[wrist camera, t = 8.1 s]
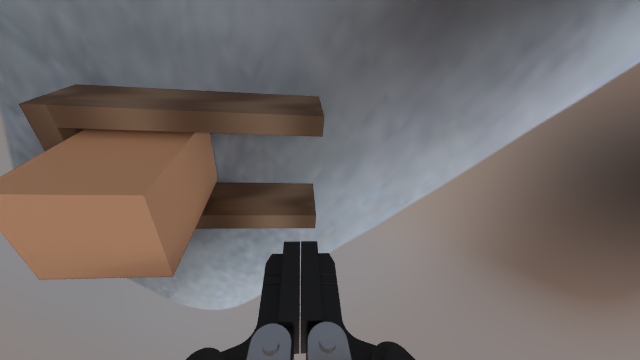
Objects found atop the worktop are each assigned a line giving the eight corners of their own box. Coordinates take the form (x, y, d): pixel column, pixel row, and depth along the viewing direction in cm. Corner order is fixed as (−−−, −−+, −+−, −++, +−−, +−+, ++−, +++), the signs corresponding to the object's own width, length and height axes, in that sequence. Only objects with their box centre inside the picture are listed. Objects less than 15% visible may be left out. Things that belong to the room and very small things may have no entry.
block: (207, 117, 18) (143, 195, 10) (217, 178, 20) (173, 276, 13) (112, 113, 17) (-31, 194, 10) (136, 177, 20) (39, 279, 12)
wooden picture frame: (318, 96, 18) (324, 116, 14) (311, 195, 22) (314, 227, 19) (75, 84, 16) (18, 103, 13) (121, 193, 21) (88, 229, 17)
